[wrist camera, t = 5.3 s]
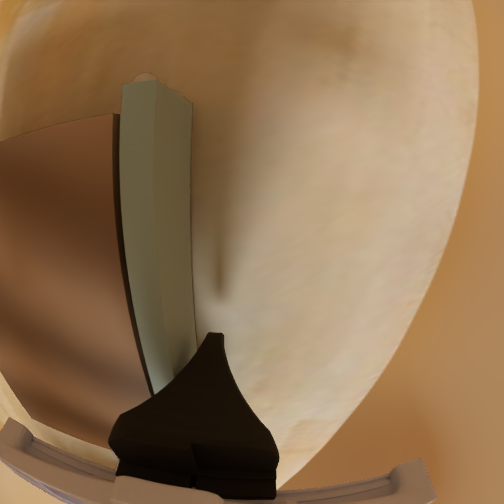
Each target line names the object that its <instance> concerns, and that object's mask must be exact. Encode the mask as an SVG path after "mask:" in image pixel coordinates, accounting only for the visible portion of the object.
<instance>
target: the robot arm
mask: <svg viewBox="0 0 504 504" xmlns="http://www.w3.org/2000/svg"><path fill="white" fill-rule="evenodd" d="M108 444H109V446H110V448H111V449H112V450H111V451H112V453H113V454H114V455H115V456H116V458H117V459H118V463H117V466H116V469H115V470H114V469H110V468H107V467H104V466H101V465H98V464H95V463H93V462H90V461H87V460H85V459H82V458H79V457H77V456H74V455H72V454H70V453H67V452H65V451H63V450H61V449H58V448H56V447H54V446H52V445H50V444H48V443H46V442H44V441H42V440H40V439H38V438H36V437H34V436H33V434H32V433H31V432H30V431H29V430H28V429H27V428H26V427H25V426H24V425H22V424H20V423H19V422H17V421H15V420H13V419H12V418H8V420H7V421H6V423H5V425H4V426H3V428H2V430H1V431H0V460H1V461H2V462H3V463H5V464H6V465H7V466H8V467H9V468H10V469H11V470H12V471H14V472H15V473H16V474H17V475H19V476H20V477H22V478H23V479H25V480H26V481H28V482H30V483H31V484H33V485H35V486H36V487H38V488H39V489H41V490H43V491H44V492H46V493H48V494H50V495H51V496H53V497H55V498H57V499H59V500H60V501H62V502H64V503H66V504H430V503H432V502H433V501H435V500H436V499H437V495H436V493H435V490H434V487H433V484H432V482H431V479H430V476H429V474H428V471H427V469H426V466H425V463H424V461H423V458H417V459H414V460H411V461H408V462H405V463H402V464H399V465H397V466H396V467H394V468H393V469H392V470H391V471H390V473H387V474H383V475H380V476H376V477H372V478H367V479H363V480H359V481H354V482H349V483H343V484H337V485H331V486H324V487H316V488H307V489H297V490H281V491H276V469H277V466H278V463H279V452H278V449H277V446H276V444H275V441H274V439H273V437H272V435H271V432H270V431H269V430H268V429H267V428H266V427H265V425H264V424H263V423H262V422H261V421H260V420H259V419H258V417H257V416H256V415H255V413H254V412H253V411H252V409H251V408H250V406H249V405H248V403H247V402H246V400H245V399H244V397H243V396H242V394H241V392H240V390H239V388H238V386H237V384H236V382H235V380H234V378H233V375H232V373H231V370H230V367H229V365H228V361H227V358H226V354H225V349H224V335H223V334H222V333H212V332H209V333H208V334H207V336H206V338H205V339H204V341H203V343H202V344H201V346H200V347H199V349H198V350H197V352H196V353H195V355H194V356H193V357H192V359H191V360H190V361H189V362H188V364H187V365H186V366H185V367H184V368H183V369H182V371H181V372H180V373H179V374H178V375H177V376H176V377H175V378H174V379H173V380H172V381H171V382H170V383H168V384H167V385H166V386H165V387H164V388H163V389H161V390H160V391H159V392H158V393H156V394H155V395H154V396H152V397H151V398H149V399H147V400H146V401H144V402H143V403H141V404H140V405H138V406H136V407H134V408H132V409H130V410H128V411H126V412H124V413H122V414H120V415H119V417H118V419H117V420H116V422H115V424H114V425H113V428H112V430H111V433H110V436H109V438H108Z"/></svg>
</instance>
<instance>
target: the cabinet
mask: <svg viewBox="0 0 504 504" xmlns="http://www.w3.org/2000/svg"><path fill="white" fill-rule="evenodd" d="M120 116H121V115H119V114H114V113H112V114H106V115H100V116H95V117H89V118H84V119H79V120H75V121H70V122H66V123H62V124H58V125H54V126H50V127H46V128H42V129H39V130H35V131H32V132H29V133H25V134H22V135H19V136H16V137H13V138H10V139H7V140H5V141H2V142H0V371H1V373H2V375H3V376H4V378H5V380H6V381H7V383H8V384H9V386H10V388H11V389H12V391H13V392H14V394H15V395H16V397H17V398H18V400H19V401H20V403H21V404H22V405H23V407H24V408H25V410H26V411H27V412H28V414H29V415H30V416H31V418H32V419H34V420H36V421H38V422H41V423H43V424H45V425H47V426H49V427H51V428H53V429H56V430H58V431H60V432H63V433H65V434H68V435H70V436H73V437H75V438H78V439H81V440H83V441H86V442H89V443H92V444H95V445H98V446H101V447H104V448H107V449H110V450H112V449H111V448H110V446H109V444H108V438H109V436H110V433H111V430H112V428H113V425H114V424H115V422H116V420H117V419H118V417H119V415H120V414H122V413H124V412H126V411H128V410H130V409H132V408H134V407H136V406H138V405H140V404H141V403H143V402H144V401H146V400H147V399H149V398H151V397H152V396H154V395H155V394H154V390H153V387H152V383H151V380H150V376H149V373H148V369H147V365H146V361H145V357H144V353H143V349H142V345H141V341H140V336H139V332H138V327H137V322H136V317H135V312H134V307H133V301H132V295H131V289H130V283H129V276H128V269H127V262H126V254H125V245H124V236H123V225H122V212H121V195H120V157H119V153H120Z"/></svg>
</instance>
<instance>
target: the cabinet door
mask: <svg viewBox="0 0 504 504" xmlns="http://www.w3.org/2000/svg"><path fill="white" fill-rule="evenodd" d="M192 111H193V104H192V103H191V102H189V101H188V100H186V99H185V97H184V96H182V95H181V94H180V93H178V92H177V91H175V90H173V89H171V88H169V87H168V86H167V85H166V84H165V83H164V82H162V81H161V80H159V79H158V78H157V77H155V76H154V75H152V74H150V73H141V74H139V75H137V76H136V77H135V78H134V79H133V81H132V82H131V83H127V84H123V88H122V100H121V116H120V153H119V157H120V195H121V212H122V225H123V236H124V245H125V254H126V262H127V269H128V276H129V283H130V289H131V295H132V301H133V307H134V312H135V317H136V322H137V327H138V332H139V336H140V341H141V345H142V349H143V353H144V357H145V361H146V365H147V369H148V373H149V376H150V380H151V383H152V387H153V390H154V394H156V393H158V392H159V391H160V390H161V389H163V388H164V387H165V386H166V385H167V384H168V383H170V382H171V381H172V380H173V379H174V378H175V377H176V376H177V375H178V374H179V373H180V372H181V371H182V369H183V368H184V367H185V366H186V365H187V364H188V362H189V361H190V360H191V359H192V357H193V356H194V355H195V353H196V352H197V344H196V332H195V319H194V304H193V287H192V265H191V231H190V164H191V131H192Z"/></svg>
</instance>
